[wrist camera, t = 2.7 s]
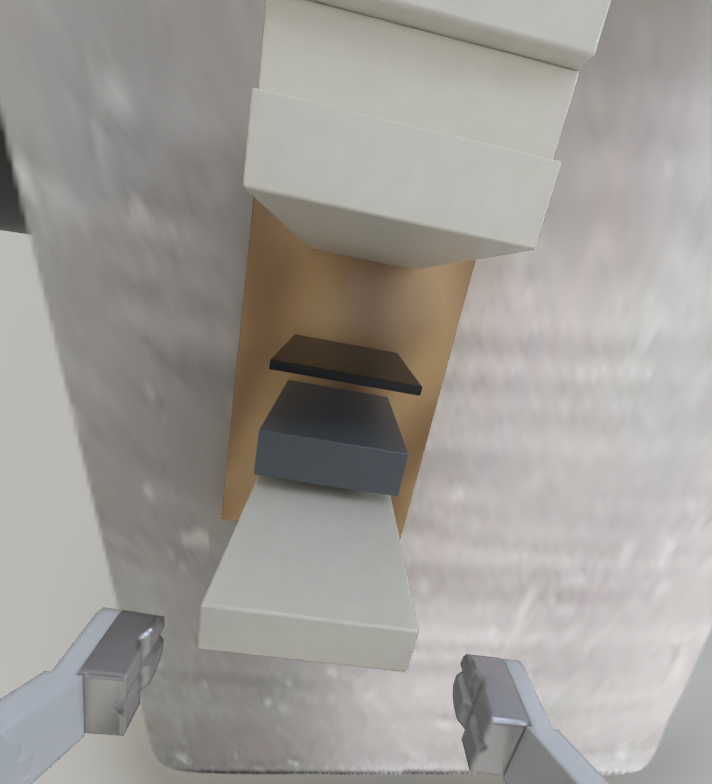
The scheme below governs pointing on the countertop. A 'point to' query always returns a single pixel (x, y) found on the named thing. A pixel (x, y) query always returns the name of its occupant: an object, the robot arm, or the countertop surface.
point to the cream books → (415, 122)
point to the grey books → (332, 439)
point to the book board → (337, 338)
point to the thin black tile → (345, 364)
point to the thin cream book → (312, 580)
